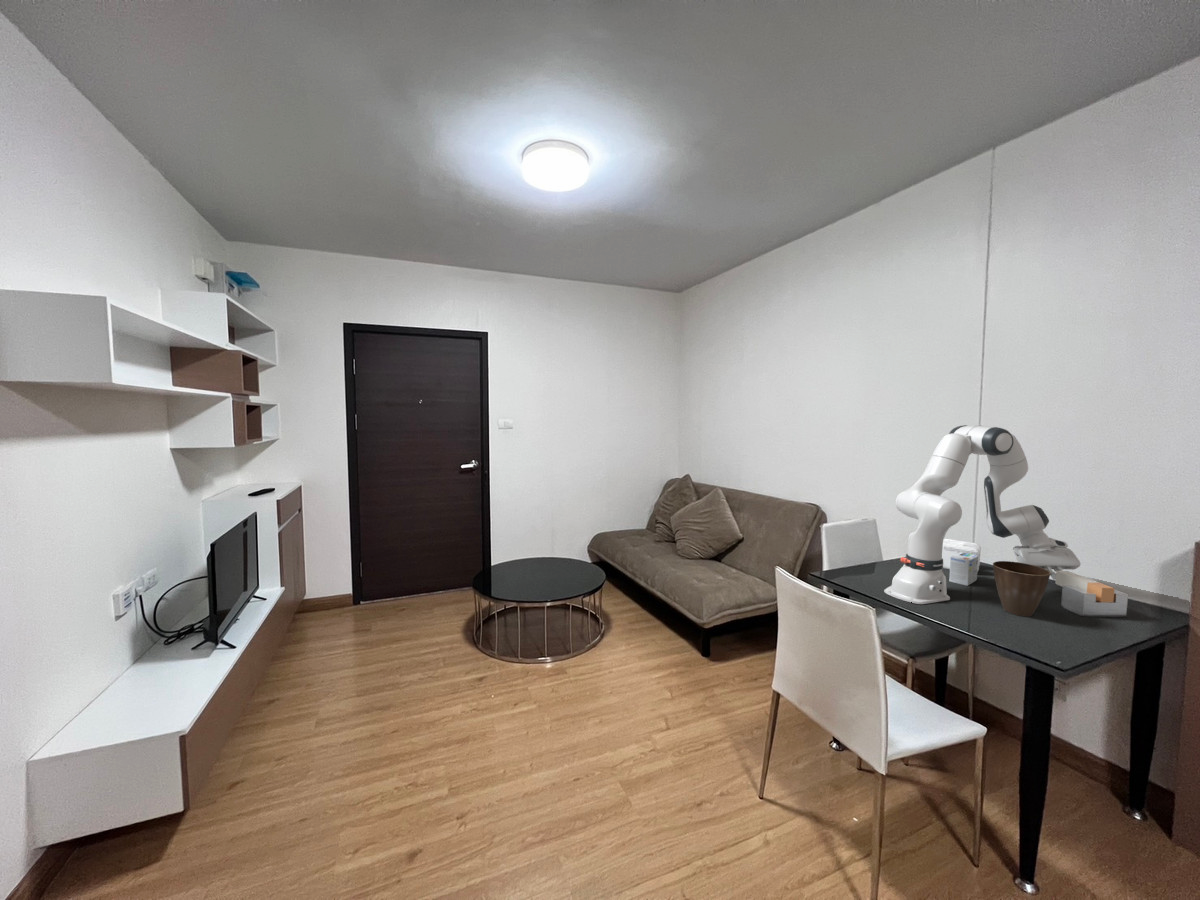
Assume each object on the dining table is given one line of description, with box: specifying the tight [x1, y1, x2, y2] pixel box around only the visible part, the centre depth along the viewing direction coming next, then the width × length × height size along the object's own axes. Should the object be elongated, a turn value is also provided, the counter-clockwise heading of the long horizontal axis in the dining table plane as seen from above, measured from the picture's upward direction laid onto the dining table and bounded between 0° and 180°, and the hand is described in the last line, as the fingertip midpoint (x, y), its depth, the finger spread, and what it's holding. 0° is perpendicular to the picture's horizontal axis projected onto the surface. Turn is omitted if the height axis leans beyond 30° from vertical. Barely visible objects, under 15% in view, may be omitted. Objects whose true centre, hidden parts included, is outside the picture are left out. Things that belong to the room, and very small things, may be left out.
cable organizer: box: [942, 538, 982, 573], centre depth 208 cm, size 15×11×12 cm
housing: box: [1060, 585, 1129, 618], centre depth 164 cm, size 8×14×8 cm, turn 87°
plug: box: [1055, 570, 1116, 602], centre depth 167 cm, size 17×4×5 cm, turn 177°
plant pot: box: [992, 560, 1051, 617], centre depth 164 cm, size 15×15×16 cm
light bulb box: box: [948, 552, 978, 586], centre depth 194 cm, size 11×7×11 cm, turn 126°
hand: (1059, 579), depth 177 cm, fingers closed
